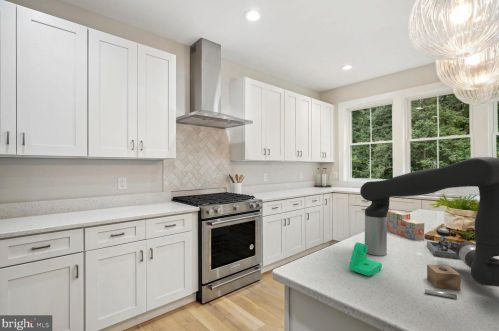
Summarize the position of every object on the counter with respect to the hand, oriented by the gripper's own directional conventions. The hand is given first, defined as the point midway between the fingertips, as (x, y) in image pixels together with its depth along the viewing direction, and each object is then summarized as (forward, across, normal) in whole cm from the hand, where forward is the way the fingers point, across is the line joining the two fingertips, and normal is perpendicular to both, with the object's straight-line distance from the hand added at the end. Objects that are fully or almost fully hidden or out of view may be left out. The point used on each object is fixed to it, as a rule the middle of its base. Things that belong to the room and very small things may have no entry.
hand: (456, 242), depth 107 cm
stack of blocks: (+36, +15, +8) cm, 40 cm away
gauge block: (-26, +11, +8) cm, 30 cm away
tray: (+10, 0, +8) cm, 13 cm away
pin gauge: (-36, +14, +8) cm, 40 cm away
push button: (+10, +3, +7) cm, 13 cm away
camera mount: (-25, +35, +8) cm, 44 cm away
